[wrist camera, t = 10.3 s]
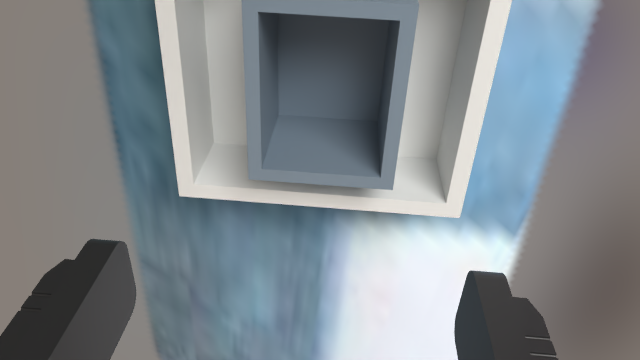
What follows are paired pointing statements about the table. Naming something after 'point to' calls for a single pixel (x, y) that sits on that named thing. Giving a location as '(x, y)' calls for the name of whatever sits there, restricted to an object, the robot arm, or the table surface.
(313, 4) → the slate crate
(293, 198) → the white crate
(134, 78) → the table surface
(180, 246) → the table surface
